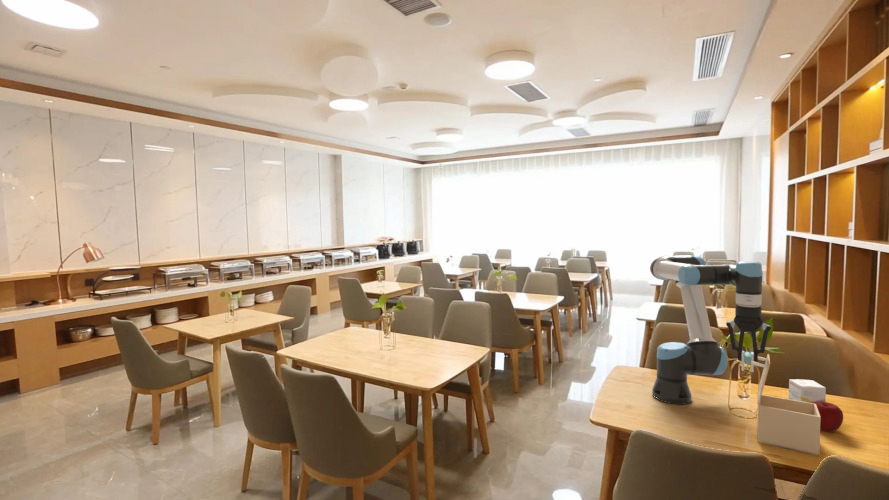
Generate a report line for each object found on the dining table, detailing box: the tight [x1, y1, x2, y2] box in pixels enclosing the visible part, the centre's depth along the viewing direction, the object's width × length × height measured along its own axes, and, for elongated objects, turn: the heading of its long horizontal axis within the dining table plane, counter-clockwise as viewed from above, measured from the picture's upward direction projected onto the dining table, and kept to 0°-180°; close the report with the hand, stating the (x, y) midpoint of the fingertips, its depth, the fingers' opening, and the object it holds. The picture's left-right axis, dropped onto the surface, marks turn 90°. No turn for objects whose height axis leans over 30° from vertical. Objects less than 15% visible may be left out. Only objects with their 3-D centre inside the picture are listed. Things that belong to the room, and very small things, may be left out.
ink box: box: [788, 378, 827, 403], centre depth 169 cm, size 9×8×12 cm
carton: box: [756, 394, 821, 457], centre depth 147 cm, size 16×12×13 cm
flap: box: [744, 351, 771, 406], centre depth 151 cm, size 15×12×7 cm
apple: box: [812, 401, 844, 432], centre depth 154 cm, size 10×10×10 cm
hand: (747, 370), depth 152 cm, fingers closed on flap, 2 cm apart
